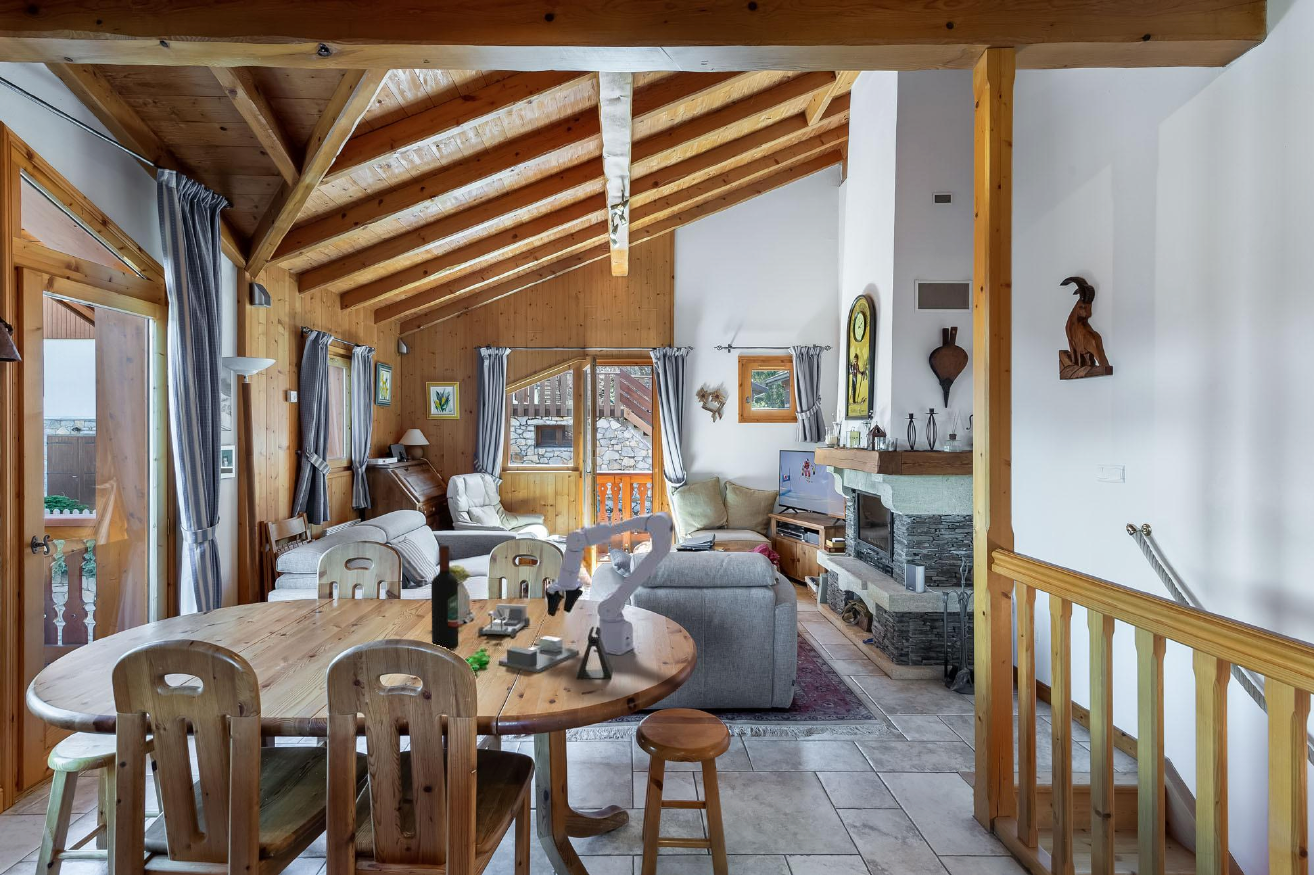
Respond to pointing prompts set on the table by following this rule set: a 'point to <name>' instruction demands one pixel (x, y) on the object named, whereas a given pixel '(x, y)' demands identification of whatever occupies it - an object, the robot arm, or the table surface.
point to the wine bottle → (445, 604)
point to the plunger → (550, 644)
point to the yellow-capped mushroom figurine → (462, 594)
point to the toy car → (506, 620)
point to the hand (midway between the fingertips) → (559, 613)
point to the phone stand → (603, 658)
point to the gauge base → (545, 659)
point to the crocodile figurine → (478, 659)
